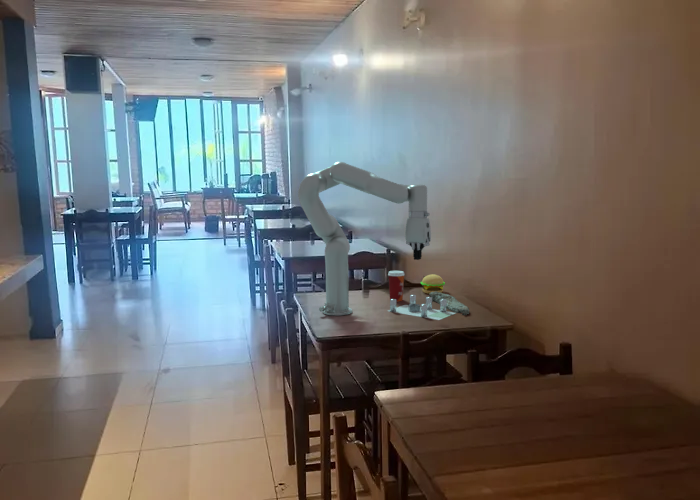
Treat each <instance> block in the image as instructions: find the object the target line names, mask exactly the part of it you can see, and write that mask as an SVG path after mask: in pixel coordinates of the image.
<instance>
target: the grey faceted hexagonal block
mask: <svg viewBox="0 0 700 500" xmlns="http://www.w3.org/2000/svg"><path fill="white" fill-rule="evenodd" d="M407 305H408V310H409V311H410V312H419V311H420V307H421V304H419V303H416V304H410V303H409V304H407Z"/></svg>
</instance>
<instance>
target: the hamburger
mask: <svg viewBox="0 0 700 500" xmlns="http://www.w3.org/2000/svg"><path fill="white" fill-rule="evenodd" d="M420 285H421V286H422V292H423V293H424V294H428V295H429V294H430V293H431V292H435V291H437V292H440V293H444V292H443V291H444V286H445V285H446V282H445V281H444V280H443V278H442V277H441V276H440V275H438V274H435V273H434V274H433V273H432V274H428V275H425V276H424V277H423V278H422V280H421V281H420Z"/></svg>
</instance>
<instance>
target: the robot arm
mask: <svg viewBox="0 0 700 500" xmlns="http://www.w3.org/2000/svg"><path fill="white" fill-rule="evenodd" d="M340 184H341V185H343V186H345V187H346V186H347V187H349V188H352V189H354V190H358V191H360V192H363V193H365V194H368V195H369V194H370V195H373V196H375V197H378V198H381V199H384V200H385V201H388V202H390V203H391V202H392V203H395V204H399V205H400V204H403V203H405V202H406V203H407V202H408V217H407V220H406V224H405V231H404V232H405V234H404V235H405V236H404V237H405V244H406V245H407V246H410V247H411V249H412V252H413V254H412V255H413V256H412V257H413V260H414V261H415V260H417V261H419V260H421V259H422V256H423V255H422V254H423V252H422V251H423V250H424V248H425V247H428V246H430V242H431V241H432V232H431V231H432V230H431V224H430V219H429V218H428V217H429V216H430V212H429V211H428V186H427V185H425V184H411V185H410V184H402V183H401V184H400V183H397V182H394V181H391V180H388V179H385V178H384V177H380V176H379V175H376V174H375V173H373V172H371V171H368V170H365V169H363V168H360V167H356V166H354V165H351V164H349V163H347V162H344V161H336V162H334V163H333V164H332V165H331V166H328V167H326V168H324V169H321V170H319V171H316V172H312V173H309V174H307V175H305V177H304V178H303V179H302V180H301V182H300V183H299V187H298V191H297V192H298V193H297V197H298V203H299V204H300V206H301V208H302V211H304V212H303V213H304V214H305V215H306V216H305V217H306V218H307V219H308V222H309V223H310V225H311V227H312V229H313V232H314V233H315V234H316V236H317V237H319V238H321V239H322V241H323V242H324V244H325V249H324V263H325V303H324V305H323V306H320V307H318V310H319V312H322V314H324V315H326V316H333V317H334V316H336V317H337V316H347V315H351V314H352V313H353V309H352V308H351V307H349V301H350V300H349V295H350V294H349V290H350V289H349V288H350V287H349V253H350V247H351V245H350V242H349V240H348V237H347V236H346V234H345V232H344V230H343V228H342V226H341V225H340V223H339V221H338V220H337V218H336V217H335V216H333V215H332V214H330V213H329V212H328V210H327V209H326V207H325V205H324V203H323V201H322V200H321V197H320V193H322V192H324V191H326V190H329V189H331V188H334V187H337V186H339V185H340Z"/></svg>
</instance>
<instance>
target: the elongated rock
mask: <svg viewBox="0 0 700 500" xmlns="http://www.w3.org/2000/svg"><path fill="white" fill-rule="evenodd" d="M428 297H432V302H435V303H437V304H439V305H440V300H441V299H446V300H447V308H446V310H448V311H450V312H453V313H455V314H458V313H459V314H461V316H468V315H470V310H469V309H470V308H469V307H468V306H467V305H465V304H464V303H462V302H460V301H459V300H457V298H456V297H455V296H453V295H450V294H448V293H444V292H442V293H440V292H437V291H435V292H431V293H430V294H428ZM467 314H468V315H467Z"/></svg>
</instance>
